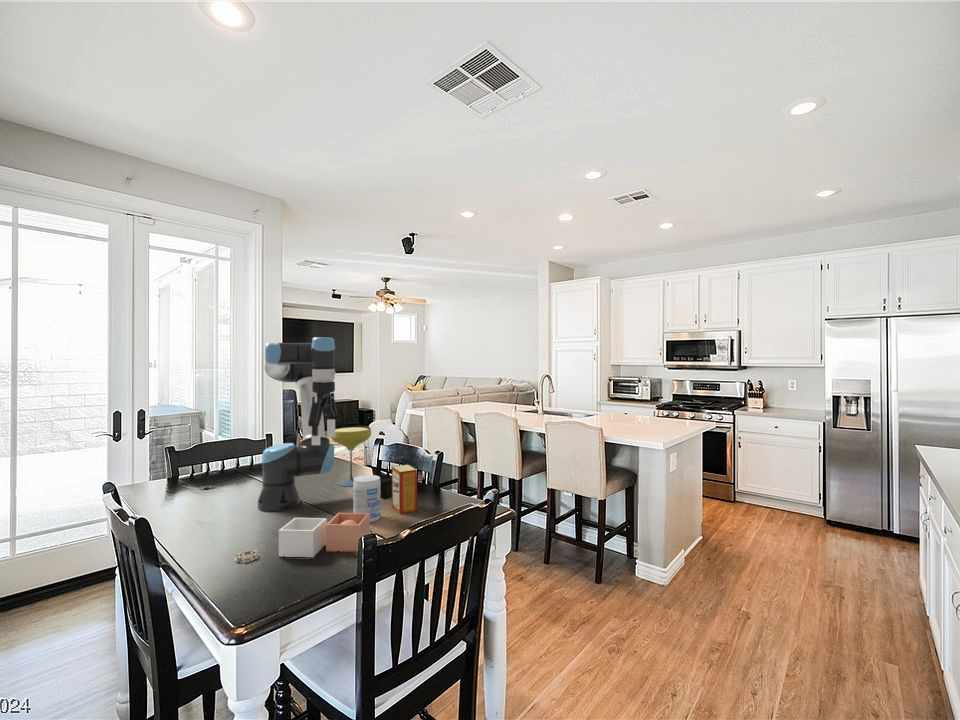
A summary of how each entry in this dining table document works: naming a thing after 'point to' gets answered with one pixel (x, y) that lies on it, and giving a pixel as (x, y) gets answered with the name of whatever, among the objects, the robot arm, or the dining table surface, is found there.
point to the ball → (349, 522)
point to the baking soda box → (404, 488)
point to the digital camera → (386, 488)
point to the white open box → (302, 537)
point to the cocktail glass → (351, 442)
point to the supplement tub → (367, 496)
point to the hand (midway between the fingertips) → (323, 441)
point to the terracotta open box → (346, 531)
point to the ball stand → (239, 558)
